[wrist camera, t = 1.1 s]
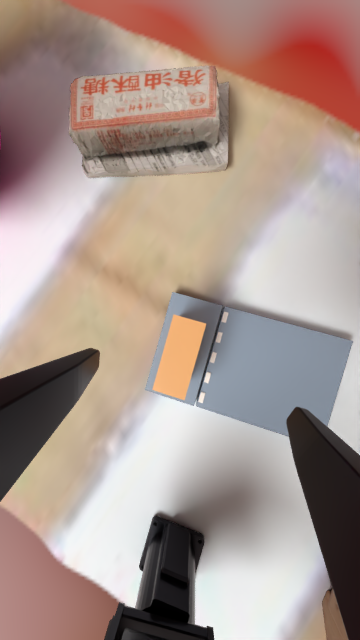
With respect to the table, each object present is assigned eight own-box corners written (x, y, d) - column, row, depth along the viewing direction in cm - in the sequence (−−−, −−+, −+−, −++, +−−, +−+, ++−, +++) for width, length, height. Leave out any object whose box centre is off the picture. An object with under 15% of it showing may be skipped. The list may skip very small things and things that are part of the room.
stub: (193, 401, 21) (193, 433, 16) (147, 386, 22) (129, 411, 16) (221, 306, 21) (231, 300, 15) (173, 293, 22) (165, 282, 16)
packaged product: (60, 147, 19) (62, 53, 19) (88, 183, 24) (89, 108, 24) (235, 134, 17) (236, 31, 17) (226, 175, 22) (227, 94, 22)
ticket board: (314, 440, 20) (321, 447, 19) (196, 402, 22) (196, 406, 20) (345, 340, 20) (354, 341, 19) (223, 307, 21) (225, 306, 20)
